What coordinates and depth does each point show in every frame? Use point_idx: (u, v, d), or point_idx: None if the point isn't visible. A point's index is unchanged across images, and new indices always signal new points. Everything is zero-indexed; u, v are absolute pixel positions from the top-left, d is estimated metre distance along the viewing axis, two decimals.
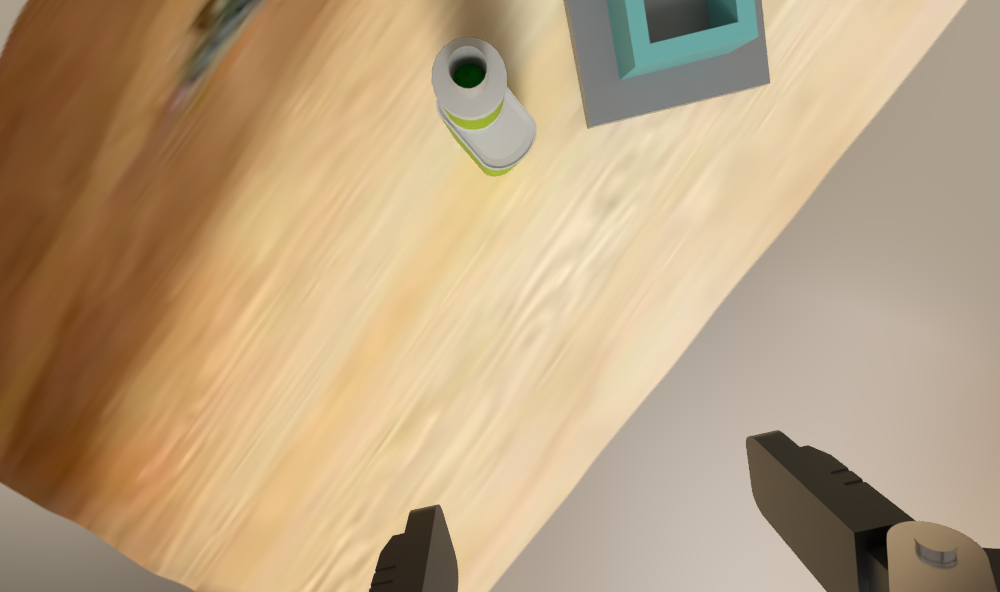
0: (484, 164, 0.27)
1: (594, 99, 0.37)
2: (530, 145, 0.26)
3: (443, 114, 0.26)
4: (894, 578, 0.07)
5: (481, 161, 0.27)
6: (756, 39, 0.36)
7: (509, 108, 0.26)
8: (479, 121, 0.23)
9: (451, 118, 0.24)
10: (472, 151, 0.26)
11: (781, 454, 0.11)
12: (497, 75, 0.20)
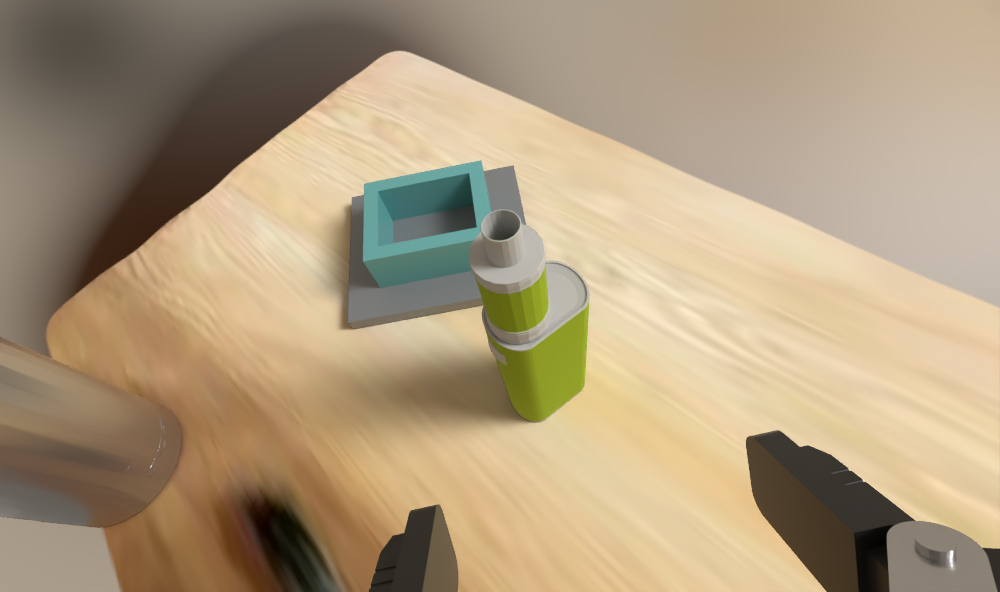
0: (583, 307, 0.25)
1: None
2: (564, 266, 0.26)
3: (529, 345, 0.24)
4: (894, 578, 0.07)
5: (580, 309, 0.25)
6: None
7: None
8: None
9: (537, 313, 0.22)
10: (569, 317, 0.24)
11: (781, 454, 0.11)
12: None
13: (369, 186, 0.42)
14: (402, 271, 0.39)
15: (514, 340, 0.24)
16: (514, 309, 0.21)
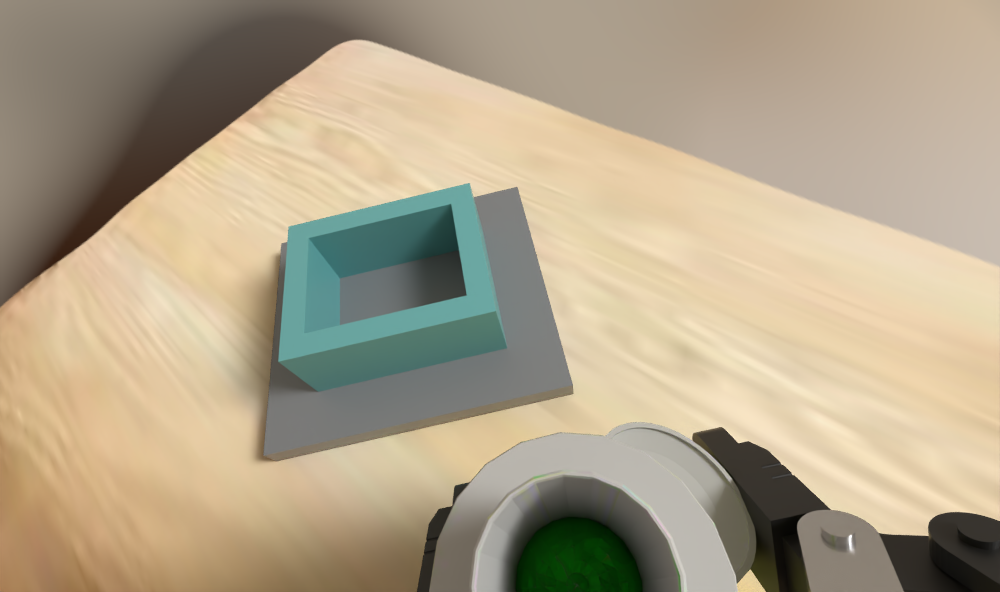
0: (744, 564, 0.10)
1: (533, 381, 0.24)
2: (674, 436, 0.11)
3: None
4: (810, 569, 0.08)
5: (738, 573, 0.10)
6: None
7: None
8: None
9: None
10: None
11: (719, 449, 0.11)
12: (564, 467, 0.06)
13: (296, 230, 0.27)
14: (349, 368, 0.24)
15: None
16: None
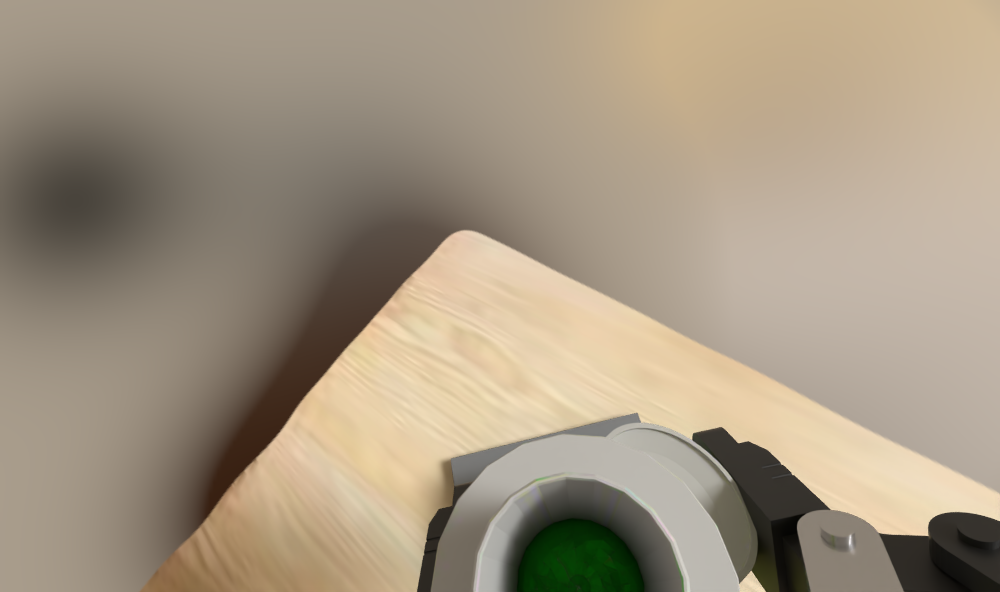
0: (746, 565, 0.10)
1: None
2: (675, 437, 0.11)
3: None
4: (810, 569, 0.08)
5: (740, 574, 0.09)
6: (600, 430, 0.40)
7: None
8: None
9: None
10: None
11: (719, 449, 0.11)
12: (566, 468, 0.06)
13: None
14: None
15: None
16: None
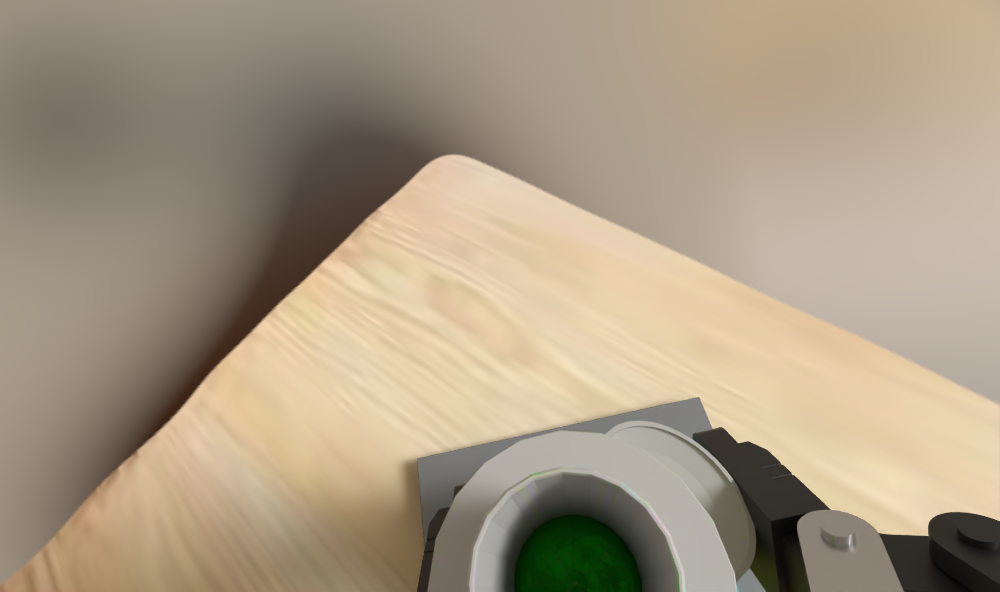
0: (744, 563, 0.10)
1: None
2: (674, 435, 0.11)
3: None
4: (810, 569, 0.08)
5: (738, 572, 0.10)
6: None
7: None
8: None
9: None
10: None
11: (719, 449, 0.11)
12: (564, 464, 0.06)
13: None
14: None
15: None
16: None
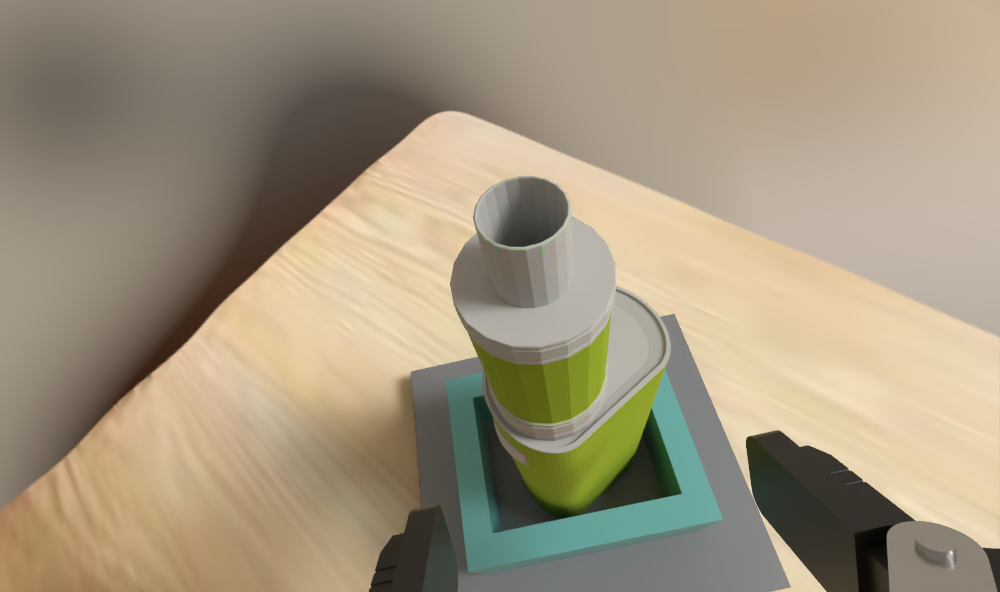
0: (662, 363, 0.14)
1: (741, 578, 0.21)
2: (618, 291, 0.15)
3: (573, 440, 0.13)
4: (894, 578, 0.07)
5: (657, 368, 0.14)
6: None
7: None
8: None
9: (592, 390, 0.11)
10: (640, 384, 0.14)
11: (781, 454, 0.11)
12: None
13: (456, 386, 0.24)
14: (532, 562, 0.21)
15: (544, 435, 0.13)
16: (551, 390, 0.10)
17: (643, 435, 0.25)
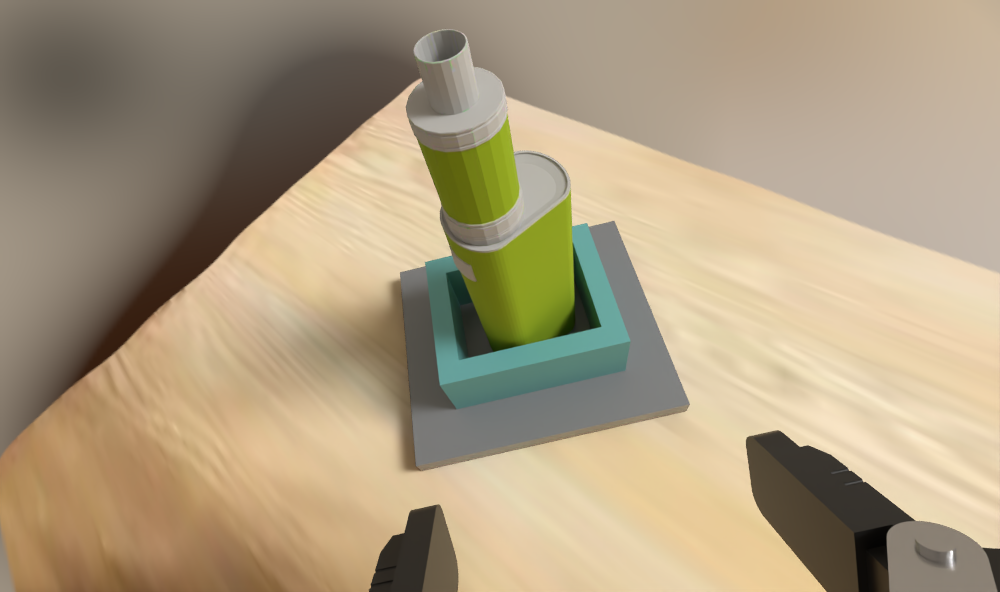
0: (563, 196, 0.20)
1: (652, 400, 0.28)
2: (538, 155, 0.21)
3: (499, 244, 0.19)
4: (894, 578, 0.07)
5: (559, 199, 0.20)
6: None
7: None
8: None
9: (504, 194, 0.18)
10: (547, 209, 0.20)
11: (781, 454, 0.11)
12: None
13: (433, 266, 0.30)
14: (491, 390, 0.28)
15: (479, 238, 0.19)
16: (472, 181, 0.16)
17: (584, 308, 0.31)
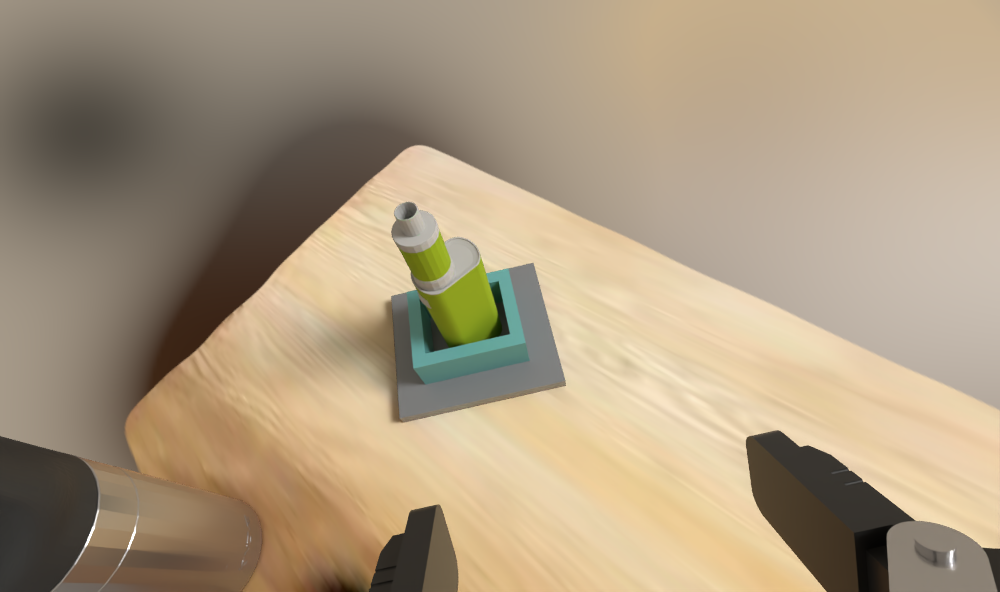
0: (475, 264, 0.38)
1: (544, 378, 0.45)
2: (465, 240, 0.39)
3: (441, 290, 0.37)
4: (894, 578, 0.07)
5: (473, 266, 0.38)
6: None
7: None
8: (441, 238, 0.35)
9: (441, 267, 0.35)
10: (466, 272, 0.38)
11: (781, 454, 0.11)
12: None
13: (411, 294, 0.48)
14: (445, 372, 0.45)
15: (430, 288, 0.37)
16: (423, 264, 0.34)
17: None
